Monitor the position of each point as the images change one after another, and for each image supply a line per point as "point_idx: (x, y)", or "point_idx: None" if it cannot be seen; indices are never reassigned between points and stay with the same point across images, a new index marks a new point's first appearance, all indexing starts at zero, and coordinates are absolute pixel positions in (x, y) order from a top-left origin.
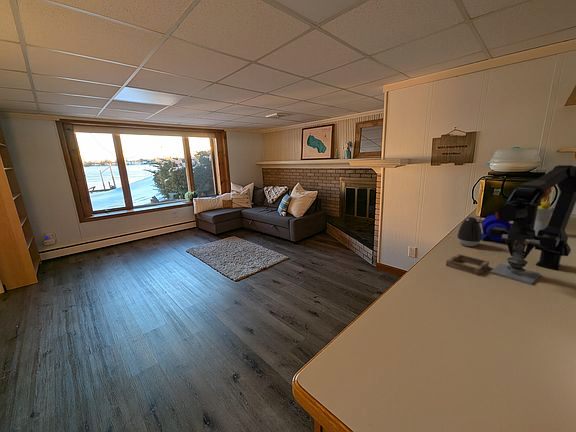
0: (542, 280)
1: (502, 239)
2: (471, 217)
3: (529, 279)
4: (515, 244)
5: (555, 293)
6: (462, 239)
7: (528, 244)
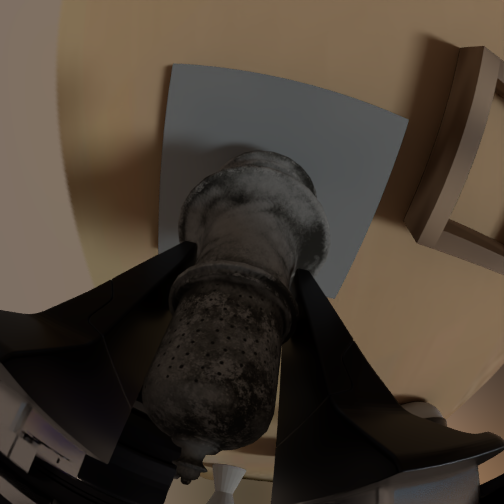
0: (144, 179)
1: (495, 438)
2: None
3: (186, 112)
4: (267, 401)
5: (93, 47)
6: (440, 419)
7: (3, 341)
